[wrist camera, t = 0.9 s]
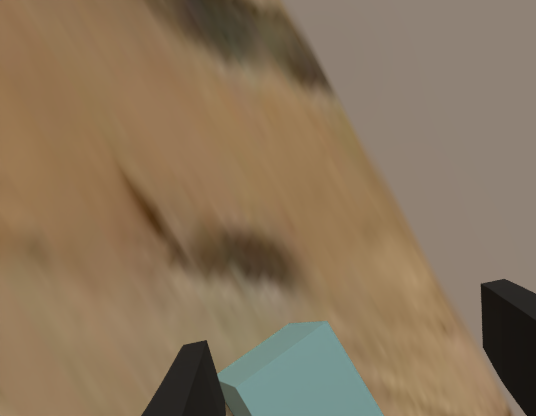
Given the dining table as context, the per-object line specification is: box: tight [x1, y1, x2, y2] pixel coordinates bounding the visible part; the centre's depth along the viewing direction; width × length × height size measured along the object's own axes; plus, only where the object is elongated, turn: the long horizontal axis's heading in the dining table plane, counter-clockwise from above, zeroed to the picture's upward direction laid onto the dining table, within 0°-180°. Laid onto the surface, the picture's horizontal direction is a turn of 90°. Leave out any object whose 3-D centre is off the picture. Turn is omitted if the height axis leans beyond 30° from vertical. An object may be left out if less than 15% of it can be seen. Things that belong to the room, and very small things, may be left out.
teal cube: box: [217, 321, 384, 416], centre depth 23 cm, size 5×5×5 cm
